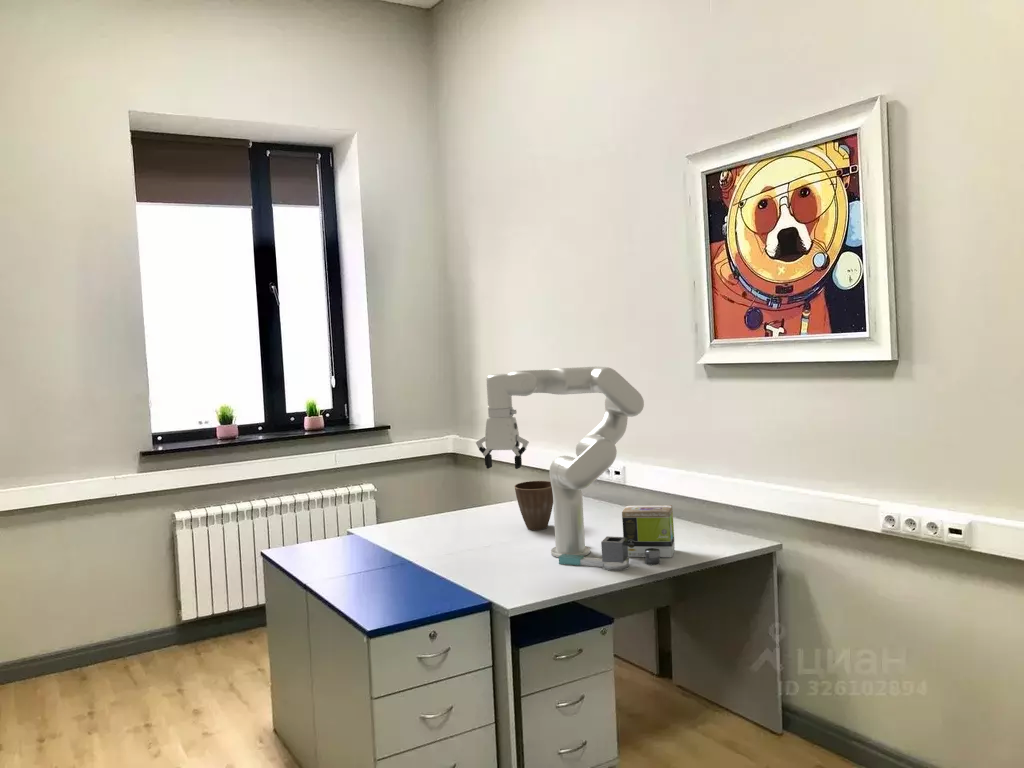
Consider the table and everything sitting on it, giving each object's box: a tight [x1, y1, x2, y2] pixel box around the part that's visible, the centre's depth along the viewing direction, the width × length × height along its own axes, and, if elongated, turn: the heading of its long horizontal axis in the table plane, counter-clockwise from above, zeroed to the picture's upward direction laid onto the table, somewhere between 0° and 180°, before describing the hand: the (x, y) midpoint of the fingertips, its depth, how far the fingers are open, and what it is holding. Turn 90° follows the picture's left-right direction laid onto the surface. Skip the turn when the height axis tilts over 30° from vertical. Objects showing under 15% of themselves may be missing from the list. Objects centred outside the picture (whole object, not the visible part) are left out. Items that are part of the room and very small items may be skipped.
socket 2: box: [644, 548, 661, 566], centre depth 255 cm, size 4×4×4 cm
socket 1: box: [600, 536, 629, 563], centre depth 252 cm, size 6×6×6 cm
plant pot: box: [514, 480, 554, 531], centre depth 306 cm, size 15×15×16 cm
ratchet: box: [558, 554, 630, 572], centre depth 256 cm, size 22×8×6 cm, turn 64°
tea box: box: [621, 504, 676, 558], centre depth 265 cm, size 15×10×15 cm, turn 73°
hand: (503, 468), depth 261 cm, fingers open, 9 cm apart
